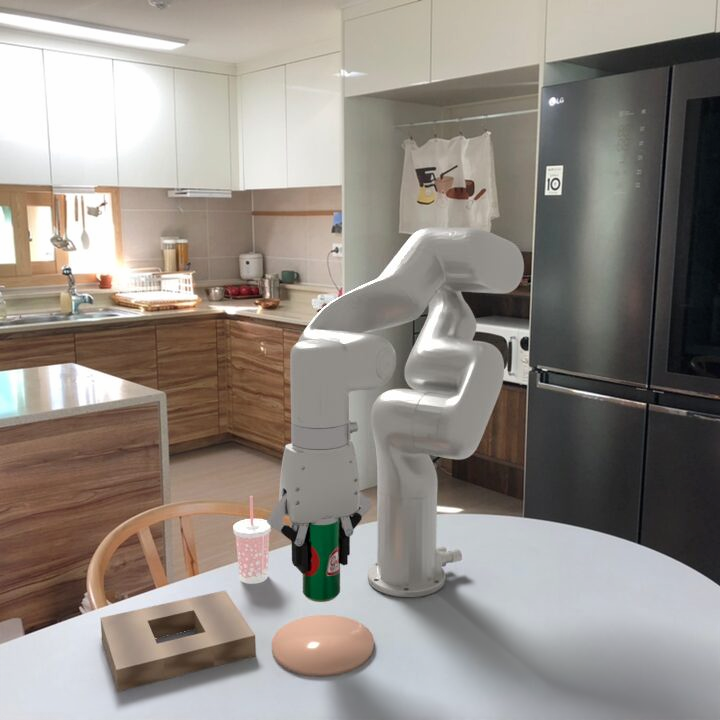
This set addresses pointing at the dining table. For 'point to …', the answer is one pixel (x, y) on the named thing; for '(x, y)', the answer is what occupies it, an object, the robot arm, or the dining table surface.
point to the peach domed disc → (322, 645)
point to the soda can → (323, 560)
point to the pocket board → (180, 656)
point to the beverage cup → (252, 548)
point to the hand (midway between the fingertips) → (321, 564)
